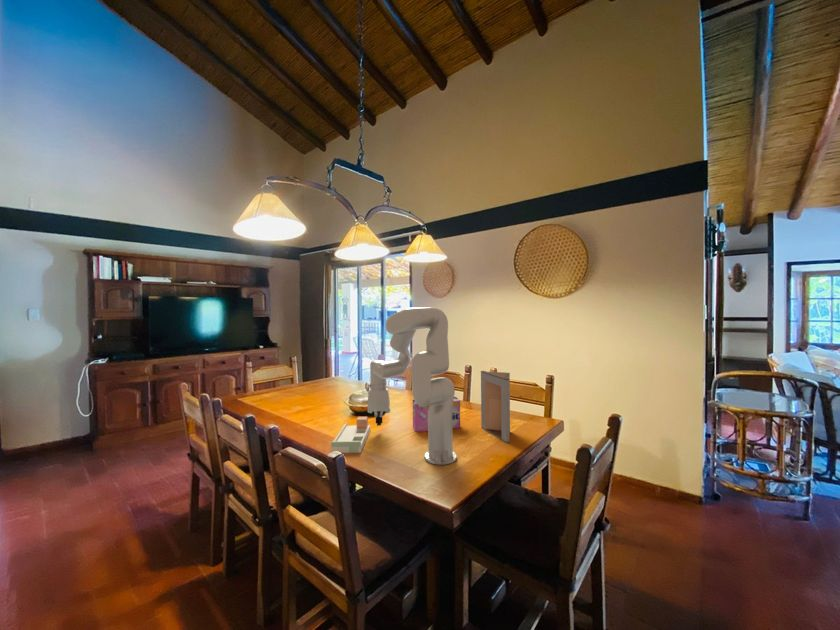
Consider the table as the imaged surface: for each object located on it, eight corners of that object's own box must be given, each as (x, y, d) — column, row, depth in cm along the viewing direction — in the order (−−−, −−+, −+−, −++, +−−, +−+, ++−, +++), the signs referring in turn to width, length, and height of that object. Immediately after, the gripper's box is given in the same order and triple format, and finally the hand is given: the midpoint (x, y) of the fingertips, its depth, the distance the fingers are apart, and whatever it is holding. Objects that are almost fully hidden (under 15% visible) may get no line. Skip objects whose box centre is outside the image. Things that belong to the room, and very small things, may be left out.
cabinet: (481, 427, 170) (480, 370, 170) (498, 425, 174) (497, 369, 173) (506, 443, 151) (505, 378, 150) (524, 439, 154) (524, 377, 154)
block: (366, 429, 163) (366, 419, 163) (356, 429, 163) (356, 419, 163) (367, 425, 168) (367, 416, 168) (358, 425, 168) (358, 416, 168)
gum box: (458, 422, 178) (458, 396, 178) (463, 428, 170) (463, 400, 170) (412, 426, 174) (412, 399, 173) (415, 432, 166) (414, 403, 166)
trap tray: (360, 452, 143) (360, 441, 143) (331, 453, 143) (331, 442, 143) (370, 430, 169) (370, 421, 169) (345, 430, 169) (345, 421, 169)
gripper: (361, 388, 162) (362, 427, 162) (393, 388, 161) (394, 427, 162) (364, 384, 169) (364, 422, 169) (394, 384, 169) (395, 422, 169)
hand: (379, 424), depth 166 cm, fingers closed
